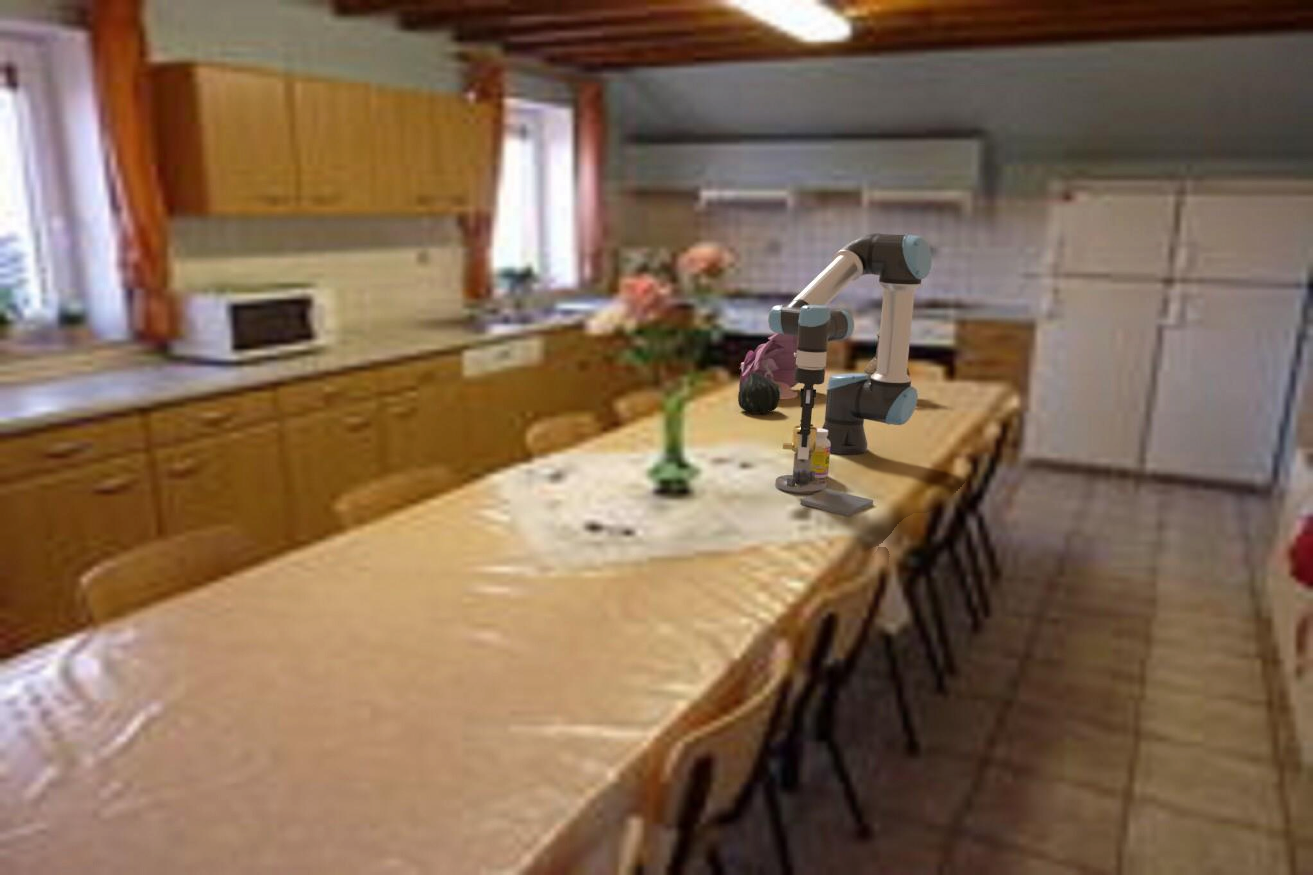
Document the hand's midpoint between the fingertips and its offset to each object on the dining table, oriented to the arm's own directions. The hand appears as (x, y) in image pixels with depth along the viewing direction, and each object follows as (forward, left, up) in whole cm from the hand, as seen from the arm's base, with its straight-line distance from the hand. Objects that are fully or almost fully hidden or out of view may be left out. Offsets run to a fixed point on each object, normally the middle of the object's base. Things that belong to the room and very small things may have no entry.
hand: (803, 455), depth 244 cm
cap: (0, 0, +1) cm, 1 cm away
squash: (-71, -60, -9) cm, 93 cm away
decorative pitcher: (-136, -43, -9) cm, 143 cm away
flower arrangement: (-105, -75, -9) cm, 129 cm away
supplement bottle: (-13, -3, -9) cm, 16 cm away
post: (0, 0, -9) cm, 9 cm away
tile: (+6, +14, -9) cm, 18 cm away
